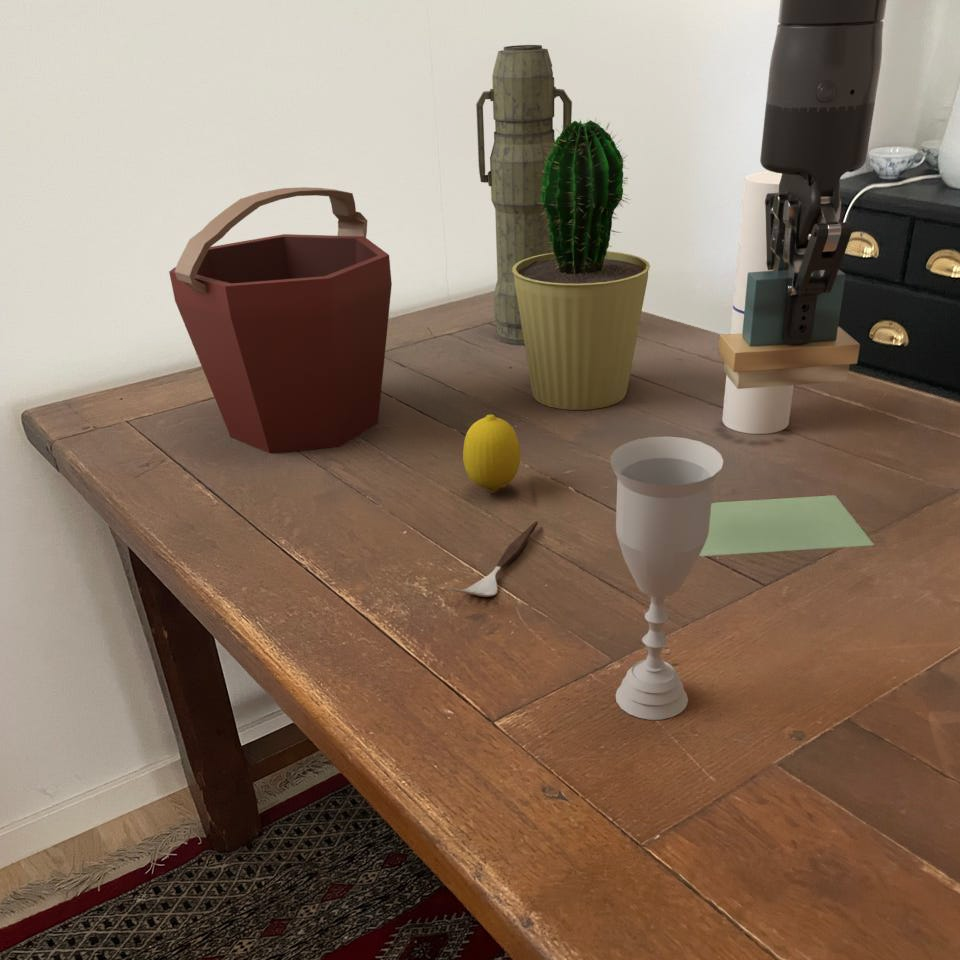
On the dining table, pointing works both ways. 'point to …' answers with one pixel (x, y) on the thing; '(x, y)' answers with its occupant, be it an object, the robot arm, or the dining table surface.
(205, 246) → the bucket
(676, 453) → the chalice
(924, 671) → the dining table surface
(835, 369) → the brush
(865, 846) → the dining table surface
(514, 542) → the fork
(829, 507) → the mat
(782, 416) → the cylindrical container
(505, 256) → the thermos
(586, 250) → the potted cactus
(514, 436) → the lemon
